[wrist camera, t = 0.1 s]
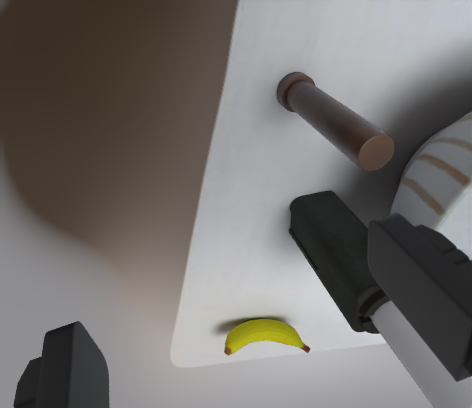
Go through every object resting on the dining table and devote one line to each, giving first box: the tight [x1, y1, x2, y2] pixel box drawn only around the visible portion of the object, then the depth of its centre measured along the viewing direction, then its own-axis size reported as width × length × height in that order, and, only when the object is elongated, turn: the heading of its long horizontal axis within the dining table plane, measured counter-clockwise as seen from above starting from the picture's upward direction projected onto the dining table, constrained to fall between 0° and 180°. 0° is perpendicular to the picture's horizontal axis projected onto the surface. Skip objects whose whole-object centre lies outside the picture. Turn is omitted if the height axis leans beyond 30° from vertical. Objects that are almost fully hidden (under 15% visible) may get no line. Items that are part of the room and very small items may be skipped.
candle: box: [289, 191, 472, 408], centre depth 30 cm, size 5×5×25 cm
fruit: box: [224, 319, 310, 355], centre depth 45 cm, size 10×2×5 cm, turn 78°
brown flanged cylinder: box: [277, 72, 395, 171], centre depth 27 cm, size 3×3×12 cm
